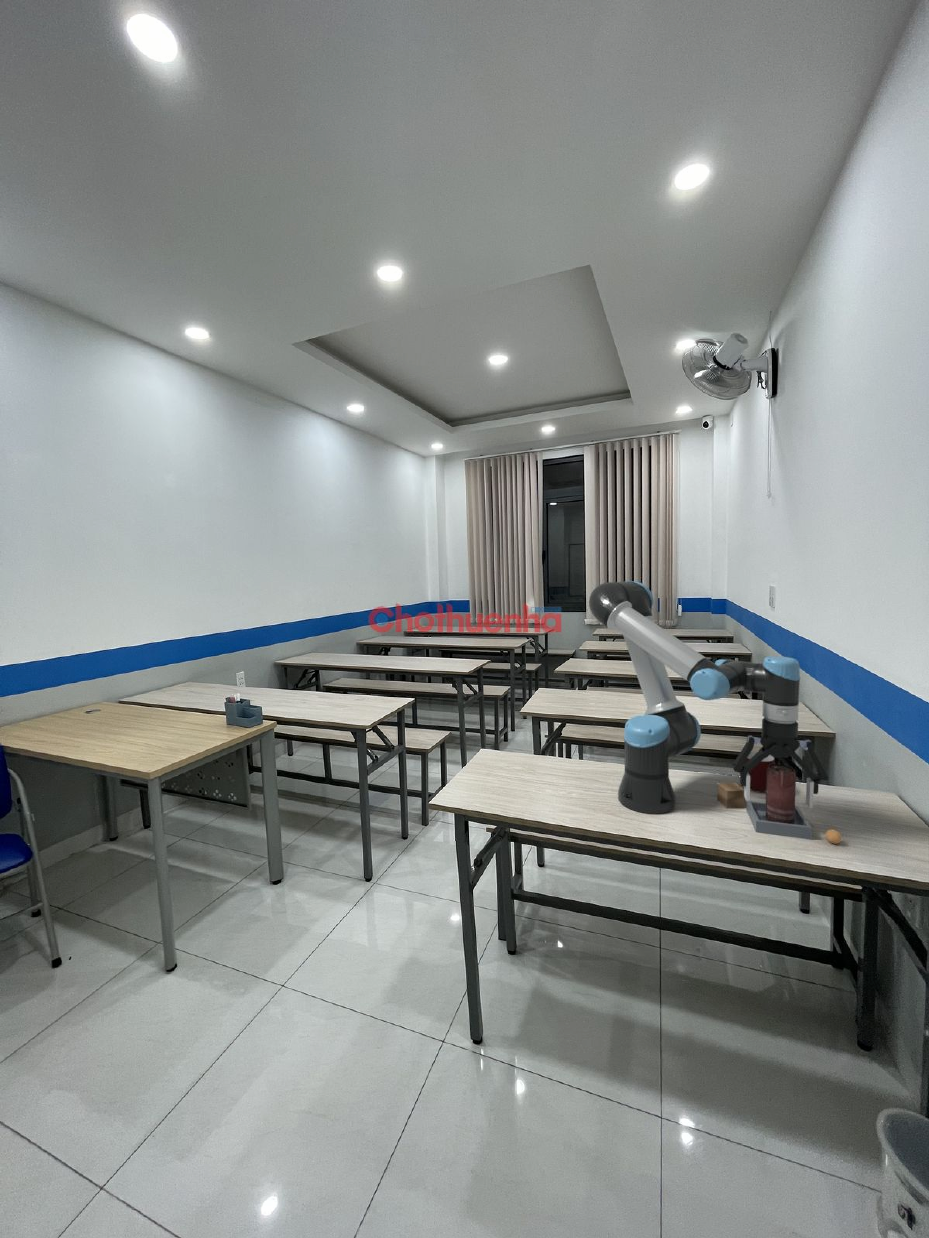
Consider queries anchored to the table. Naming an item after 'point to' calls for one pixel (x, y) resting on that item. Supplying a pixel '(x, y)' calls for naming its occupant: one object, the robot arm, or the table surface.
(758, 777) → the mug
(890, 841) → the table surface
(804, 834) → the tray
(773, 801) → the can
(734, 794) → the walnut block
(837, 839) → the rubber ball
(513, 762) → the table surface
